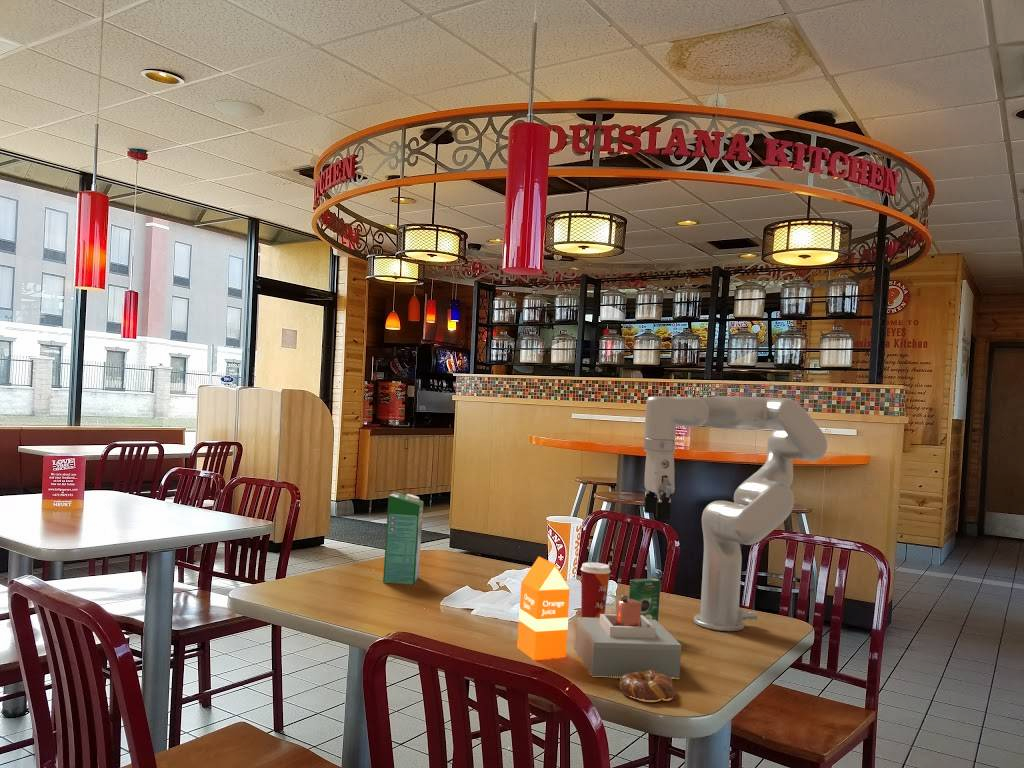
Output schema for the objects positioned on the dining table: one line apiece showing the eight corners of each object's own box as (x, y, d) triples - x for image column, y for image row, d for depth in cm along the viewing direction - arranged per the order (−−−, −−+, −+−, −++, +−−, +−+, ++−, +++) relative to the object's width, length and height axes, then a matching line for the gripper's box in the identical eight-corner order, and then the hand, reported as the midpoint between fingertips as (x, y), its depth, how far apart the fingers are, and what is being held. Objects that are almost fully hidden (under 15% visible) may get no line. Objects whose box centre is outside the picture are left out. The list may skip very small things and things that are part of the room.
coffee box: (650, 630, 194) (653, 576, 194) (658, 633, 192) (661, 579, 192) (625, 633, 190) (628, 579, 190) (633, 637, 187) (636, 581, 187)
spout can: (633, 645, 171) (637, 593, 171) (640, 652, 166) (645, 599, 166) (610, 644, 170) (615, 592, 170) (617, 652, 165) (622, 598, 165)
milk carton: (414, 584, 225) (420, 496, 226) (382, 582, 225) (388, 494, 226) (418, 577, 234) (424, 493, 235) (388, 575, 234) (393, 491, 235)
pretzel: (623, 679, 159) (624, 661, 159) (678, 688, 156) (679, 669, 156) (612, 699, 147) (614, 679, 148) (672, 709, 144) (673, 689, 144)
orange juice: (533, 660, 166) (539, 564, 166) (516, 647, 174) (522, 556, 175) (566, 657, 169) (572, 563, 170) (548, 644, 177) (553, 555, 178)
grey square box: (653, 650, 178) (655, 610, 178) (679, 679, 160) (682, 635, 160) (574, 648, 176) (577, 608, 176) (591, 677, 158) (594, 632, 158)
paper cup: (606, 626, 195) (610, 569, 195) (575, 622, 196) (579, 566, 197) (609, 618, 202) (612, 563, 203) (579, 614, 204) (582, 560, 204)
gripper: (686, 449, 187) (683, 522, 187) (663, 444, 204) (660, 511, 204) (655, 448, 186) (652, 521, 186) (634, 443, 203) (631, 510, 203)
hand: (656, 515), depth 195 cm, fingers open, 9 cm apart
